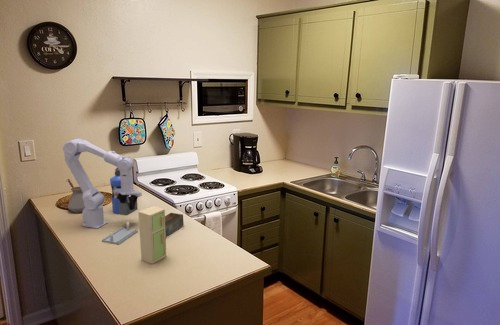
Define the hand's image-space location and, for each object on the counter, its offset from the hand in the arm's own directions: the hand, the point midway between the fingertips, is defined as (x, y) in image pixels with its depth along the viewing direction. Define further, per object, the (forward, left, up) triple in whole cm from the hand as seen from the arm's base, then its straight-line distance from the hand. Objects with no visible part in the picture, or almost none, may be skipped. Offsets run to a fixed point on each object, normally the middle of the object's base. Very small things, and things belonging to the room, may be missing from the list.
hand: (128, 208), depth 173 cm
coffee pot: (-43, +12, -9) cm, 45 cm away
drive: (0, 0, -2) cm, 2 cm away
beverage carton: (+21, 0, -9) cm, 23 cm away
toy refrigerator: (+30, -25, -9) cm, 40 cm away
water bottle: (-16, +16, -9) cm, 24 cm away
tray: (+4, -12, -9) cm, 16 cm away
